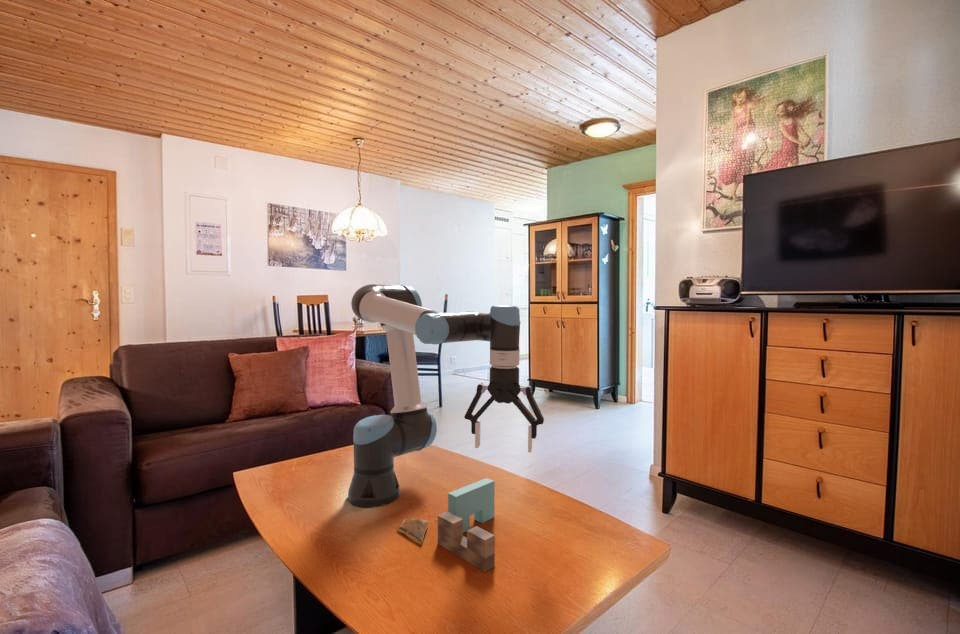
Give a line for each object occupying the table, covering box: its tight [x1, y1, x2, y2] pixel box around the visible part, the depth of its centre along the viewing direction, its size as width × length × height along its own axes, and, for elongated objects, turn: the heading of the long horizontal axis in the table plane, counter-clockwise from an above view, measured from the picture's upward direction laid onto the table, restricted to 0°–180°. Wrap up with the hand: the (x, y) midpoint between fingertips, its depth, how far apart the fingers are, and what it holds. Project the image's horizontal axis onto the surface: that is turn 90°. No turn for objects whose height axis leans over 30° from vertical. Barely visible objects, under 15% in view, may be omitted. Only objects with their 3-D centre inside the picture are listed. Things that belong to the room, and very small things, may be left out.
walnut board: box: [437, 510, 496, 573], centre depth 104 cm, size 16×3×7 cm, turn 45°
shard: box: [396, 518, 429, 546], centre depth 114 cm, size 11×8×2 cm
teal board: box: [447, 477, 495, 534], centre depth 118 cm, size 14×3×10 cm, turn 135°
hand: (503, 448), depth 115 cm, fingers open, 13 cm apart
